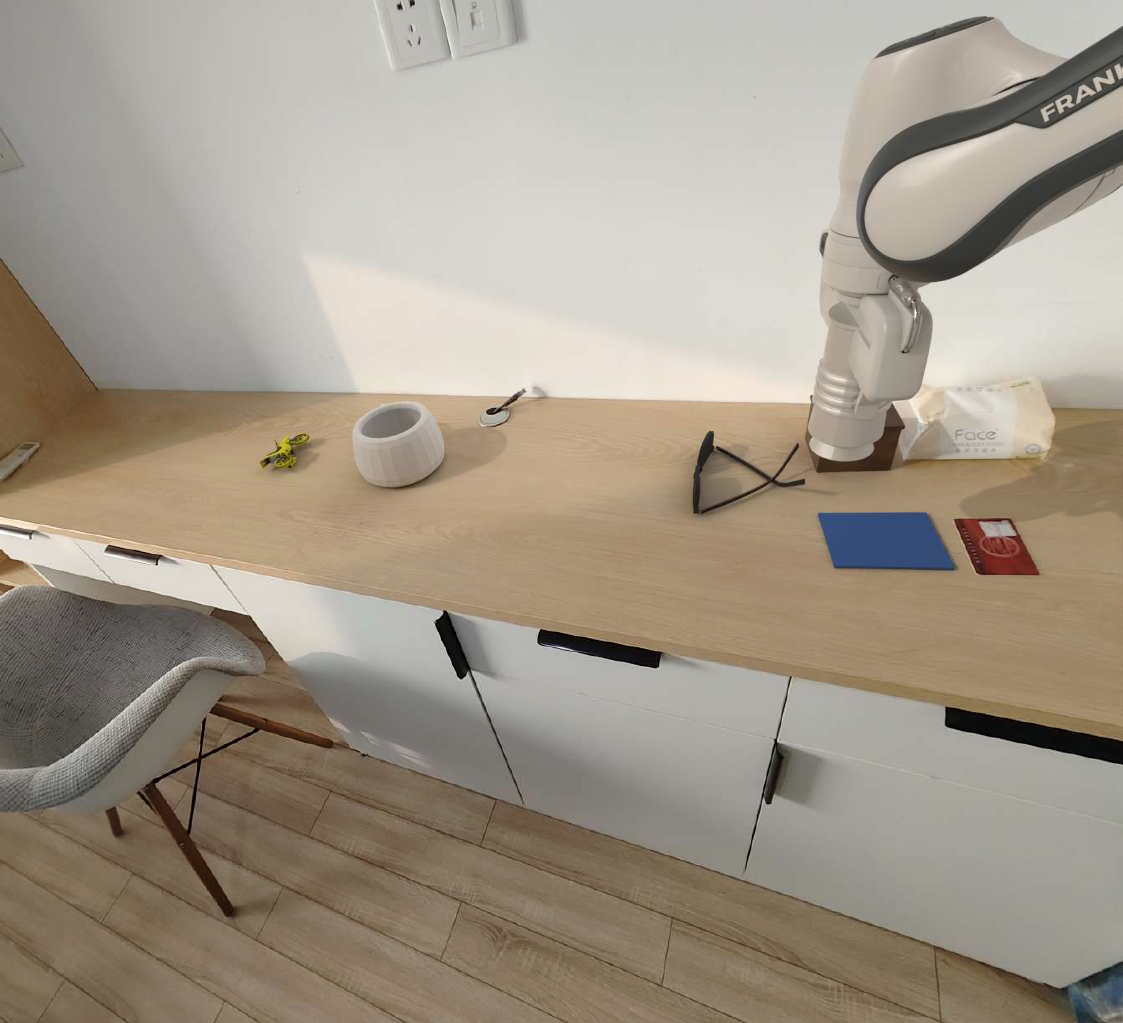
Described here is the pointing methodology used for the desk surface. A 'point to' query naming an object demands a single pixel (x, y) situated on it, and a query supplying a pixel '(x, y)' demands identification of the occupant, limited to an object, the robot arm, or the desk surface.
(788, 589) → the desk surface
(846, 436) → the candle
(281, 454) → the toy motorcycle
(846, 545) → the cloth
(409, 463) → the white plant pot
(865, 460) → the box
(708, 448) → the sunglasses
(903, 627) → the desk surface
